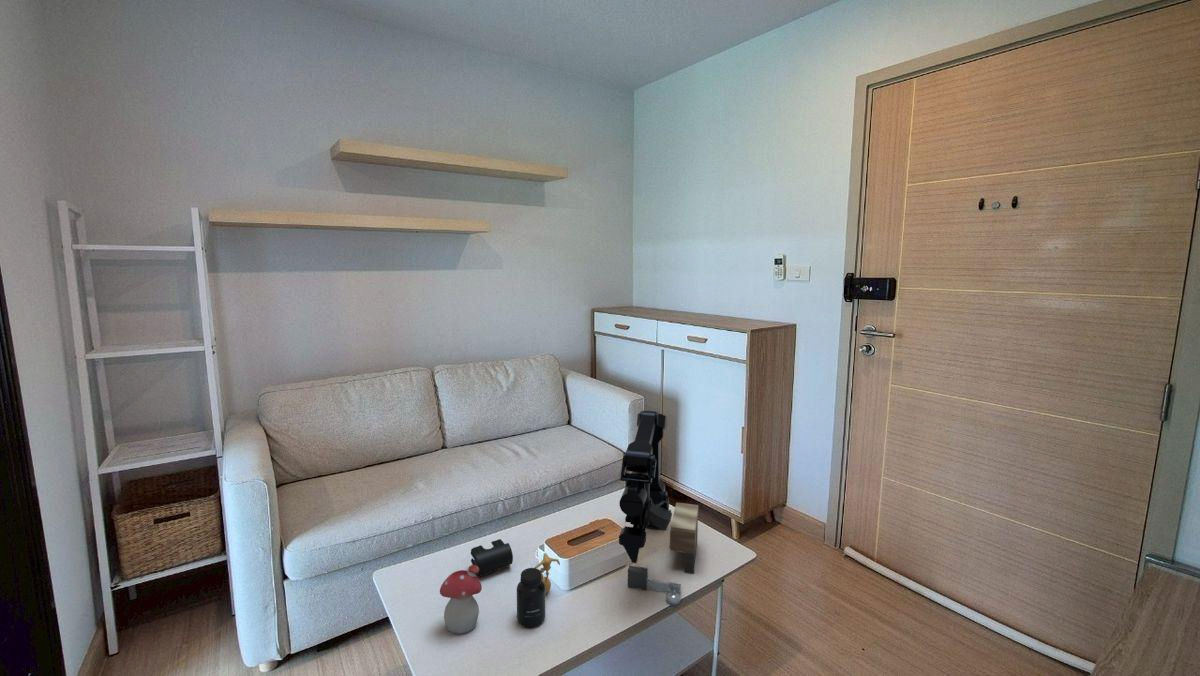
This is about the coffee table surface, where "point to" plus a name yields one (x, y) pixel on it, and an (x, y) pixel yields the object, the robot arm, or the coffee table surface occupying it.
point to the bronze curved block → (685, 533)
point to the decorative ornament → (461, 600)
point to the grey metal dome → (673, 597)
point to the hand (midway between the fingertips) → (637, 552)
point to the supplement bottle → (530, 598)
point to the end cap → (492, 557)
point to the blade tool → (648, 581)
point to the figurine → (546, 567)
